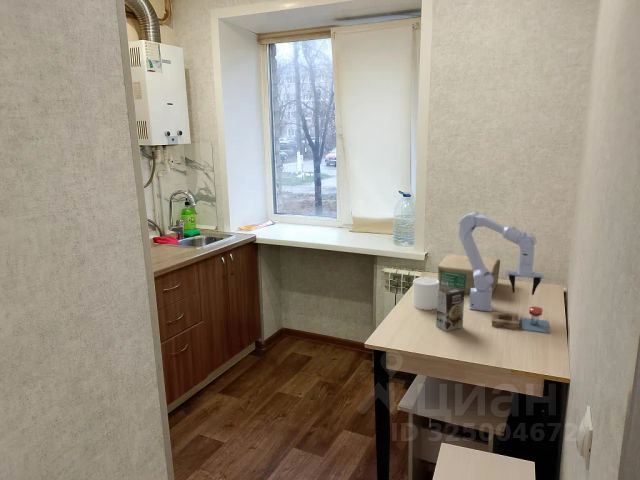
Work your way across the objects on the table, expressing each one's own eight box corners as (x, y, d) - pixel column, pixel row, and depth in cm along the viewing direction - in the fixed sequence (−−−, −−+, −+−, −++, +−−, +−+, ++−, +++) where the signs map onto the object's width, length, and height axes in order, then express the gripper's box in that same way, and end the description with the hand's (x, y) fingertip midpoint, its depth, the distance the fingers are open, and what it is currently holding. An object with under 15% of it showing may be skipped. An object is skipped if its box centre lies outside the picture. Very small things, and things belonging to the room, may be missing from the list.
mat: (522, 329, 187) (522, 328, 187) (521, 318, 198) (521, 317, 198) (549, 333, 184) (549, 332, 184) (546, 321, 195) (547, 320, 195)
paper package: (435, 291, 234) (436, 264, 231) (446, 276, 256) (448, 252, 253) (492, 299, 222) (494, 271, 219) (498, 283, 244) (500, 257, 241)
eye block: (491, 326, 191) (492, 320, 191) (492, 317, 201) (492, 311, 200) (518, 329, 188) (519, 323, 187) (517, 319, 197) (518, 314, 196)
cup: (433, 311, 208) (434, 286, 205) (408, 307, 214) (409, 282, 211) (441, 303, 217) (442, 279, 214) (417, 299, 223) (418, 275, 220)
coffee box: (446, 332, 187) (448, 294, 183) (435, 326, 193) (437, 289, 189) (463, 327, 191) (465, 290, 187) (452, 321, 197) (454, 285, 193)
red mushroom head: (528, 326, 190) (529, 310, 188) (528, 321, 194) (529, 306, 192) (541, 327, 188) (542, 311, 186) (540, 323, 192) (542, 307, 191)
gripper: (507, 263, 195) (505, 294, 198) (545, 267, 190) (542, 298, 193) (507, 259, 201) (505, 289, 204) (544, 262, 196) (541, 292, 199)
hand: (523, 293), depth 199 cm, fingers open, 7 cm apart
